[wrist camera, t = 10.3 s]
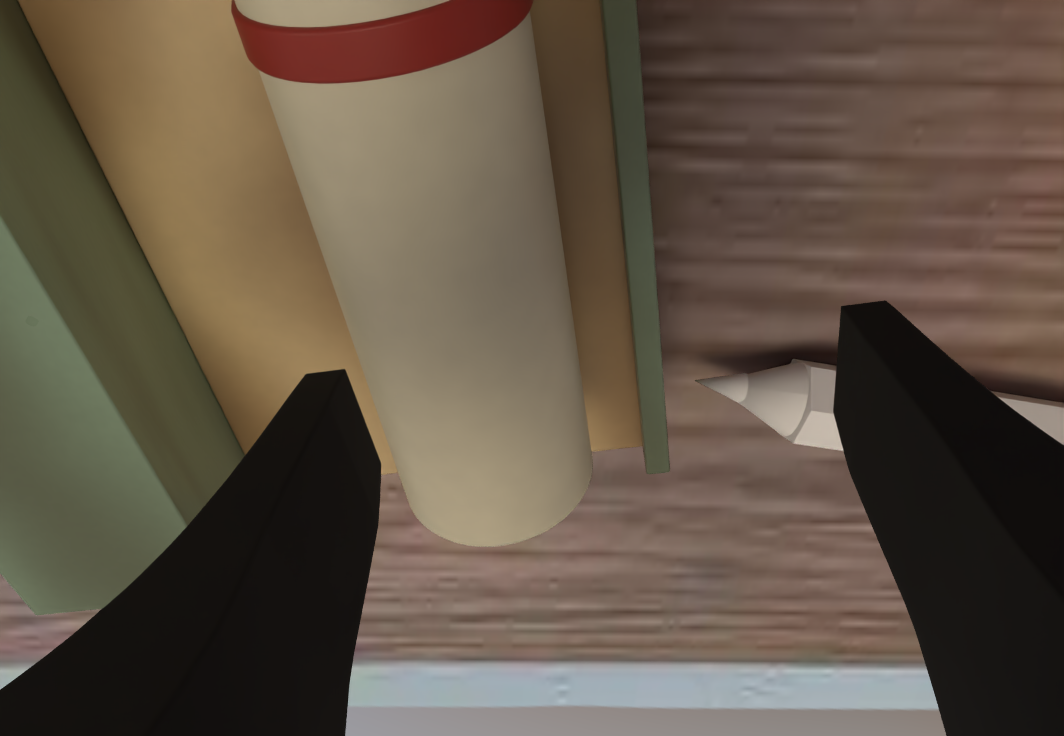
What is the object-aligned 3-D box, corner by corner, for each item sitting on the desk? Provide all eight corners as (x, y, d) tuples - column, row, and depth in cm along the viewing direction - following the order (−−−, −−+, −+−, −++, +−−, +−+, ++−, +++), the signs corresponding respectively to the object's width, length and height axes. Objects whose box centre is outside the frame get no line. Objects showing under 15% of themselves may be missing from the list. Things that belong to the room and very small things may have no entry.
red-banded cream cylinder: (513, 379, 24) (639, 468, 21) (365, 476, 22) (481, 589, 19) (364, -344, 14) (561, -366, 11) (76, -282, 12) (221, -289, 9)
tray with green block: (580, -564, 14) (609, -641, 9) (654, 381, 26) (683, 552, 21) (-387, -364, 15) (-782, -344, 10) (116, 444, 27) (35, 616, 23)
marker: (687, 337, 26) (1192, 421, 28) (673, 410, 26) (1172, 487, 28) (715, 353, 23) (1269, 444, 25) (698, 434, 24) (1246, 517, 26)
